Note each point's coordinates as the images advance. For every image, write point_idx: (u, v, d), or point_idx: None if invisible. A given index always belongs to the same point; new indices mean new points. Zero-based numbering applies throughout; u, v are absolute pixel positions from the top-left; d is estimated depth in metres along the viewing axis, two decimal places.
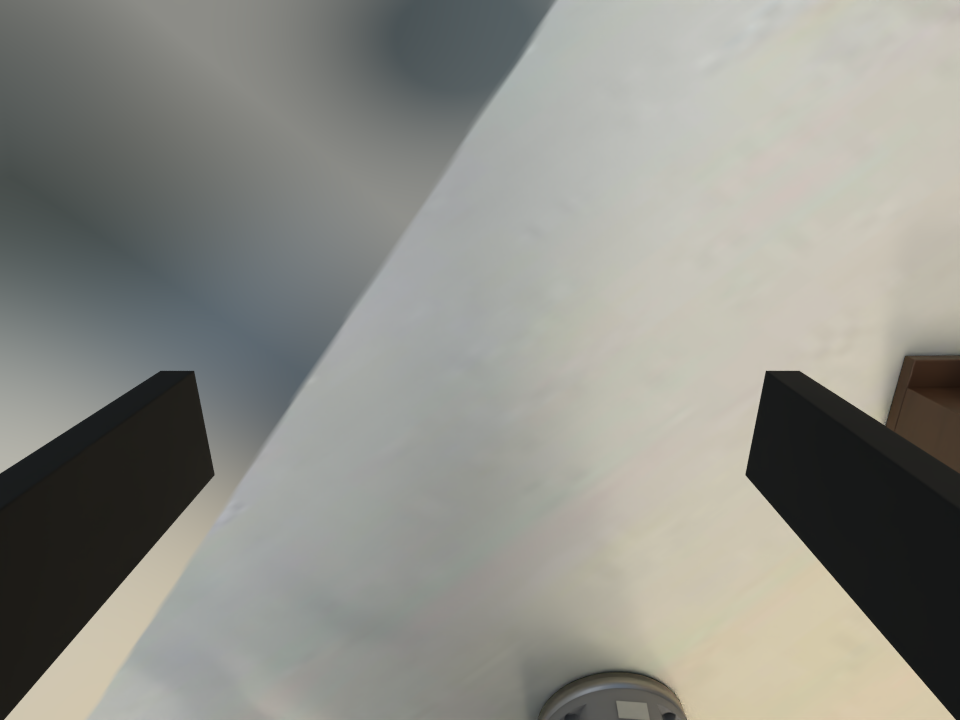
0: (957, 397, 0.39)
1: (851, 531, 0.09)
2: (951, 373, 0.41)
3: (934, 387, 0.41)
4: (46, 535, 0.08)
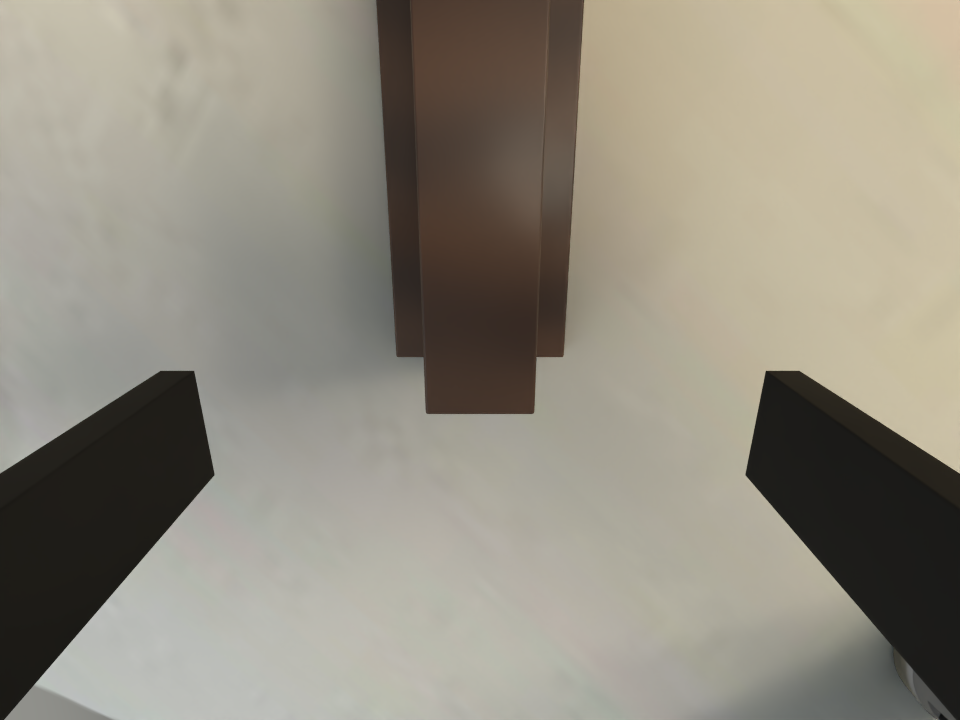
0: None
1: (851, 531, 0.09)
2: (414, 301, 0.28)
3: None
4: (47, 535, 0.08)
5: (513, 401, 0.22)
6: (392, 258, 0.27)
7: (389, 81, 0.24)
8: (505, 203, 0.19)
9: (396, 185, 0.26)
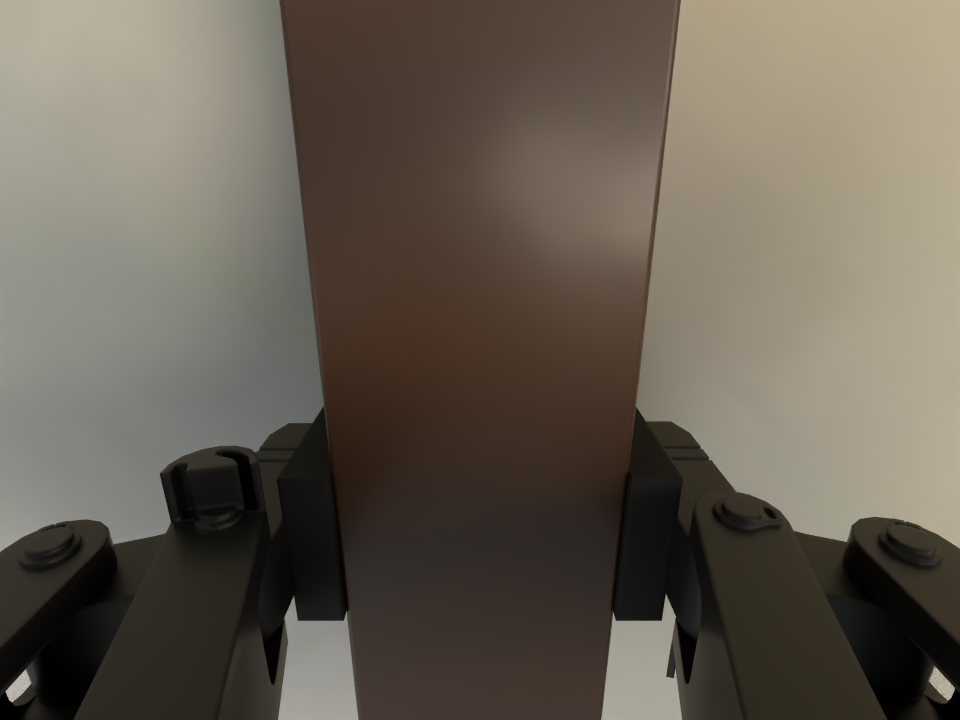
0: None
1: None
2: None
3: None
4: None
5: (555, 702, 0.10)
6: None
7: None
8: (550, 268, 0.07)
9: None
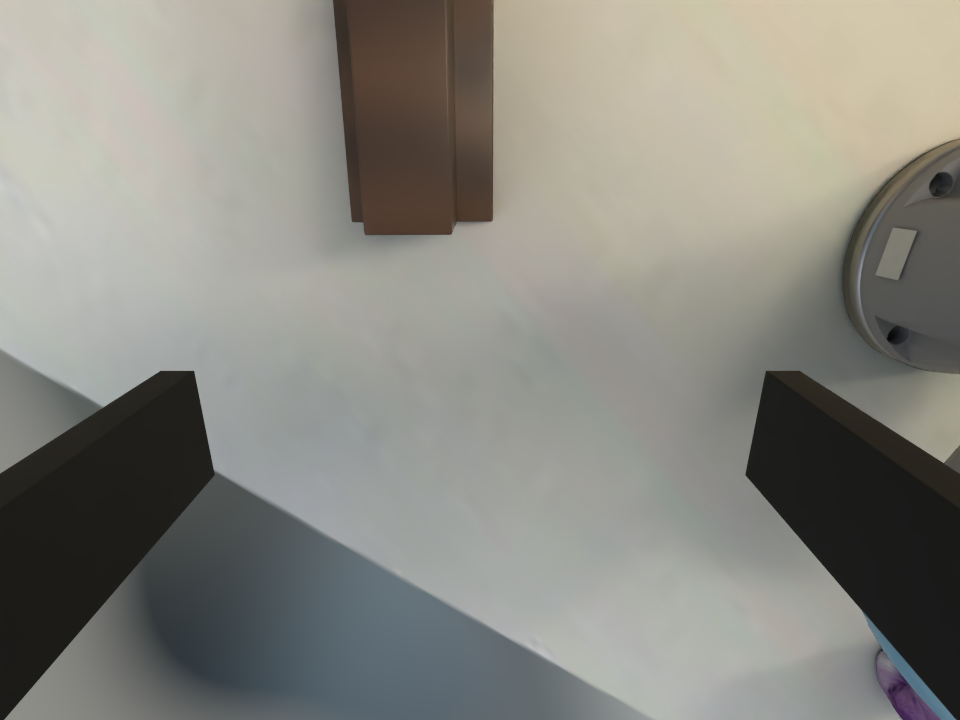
0: None
1: (851, 531, 0.09)
2: None
3: None
4: (46, 534, 0.08)
5: (434, 222, 0.27)
6: (345, 131, 0.32)
7: None
8: (418, 48, 0.24)
9: (346, 66, 0.31)
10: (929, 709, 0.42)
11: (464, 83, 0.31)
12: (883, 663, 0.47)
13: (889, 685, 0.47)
